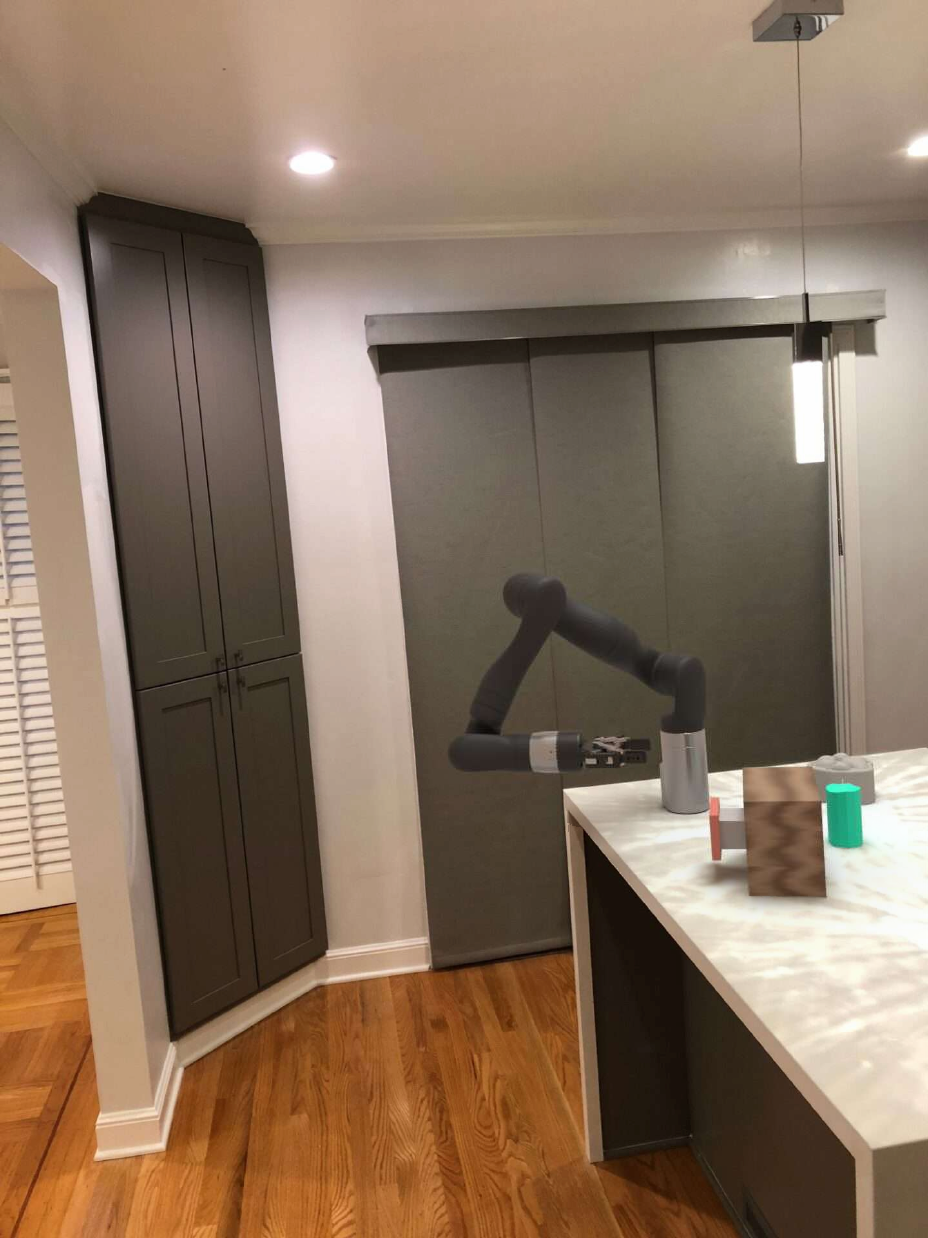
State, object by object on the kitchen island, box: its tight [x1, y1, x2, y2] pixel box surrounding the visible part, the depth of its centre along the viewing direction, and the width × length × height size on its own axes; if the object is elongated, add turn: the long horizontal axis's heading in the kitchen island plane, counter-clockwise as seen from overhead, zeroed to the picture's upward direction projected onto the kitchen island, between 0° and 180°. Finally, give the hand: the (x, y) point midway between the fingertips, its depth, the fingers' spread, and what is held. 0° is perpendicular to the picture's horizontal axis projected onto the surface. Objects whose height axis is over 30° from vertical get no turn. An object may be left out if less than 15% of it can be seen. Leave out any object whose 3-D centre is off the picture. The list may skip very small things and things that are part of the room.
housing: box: [742, 765, 827, 898], centre depth 166 cm, size 12×20×16 cm, turn 164°
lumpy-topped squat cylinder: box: [806, 752, 876, 806], centre depth 203 cm, size 10×13×9 cm
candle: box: [826, 779, 864, 849], centre depth 177 cm, size 6×6×12 cm
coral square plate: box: [708, 796, 746, 862], centre depth 168 cm, size 10×10×8 cm
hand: (648, 750), depth 170 cm, fingers open, 8 cm apart
